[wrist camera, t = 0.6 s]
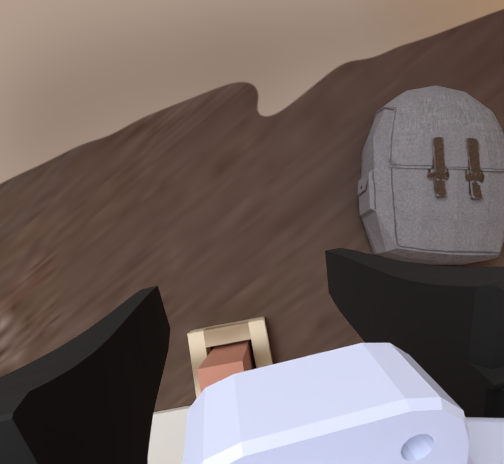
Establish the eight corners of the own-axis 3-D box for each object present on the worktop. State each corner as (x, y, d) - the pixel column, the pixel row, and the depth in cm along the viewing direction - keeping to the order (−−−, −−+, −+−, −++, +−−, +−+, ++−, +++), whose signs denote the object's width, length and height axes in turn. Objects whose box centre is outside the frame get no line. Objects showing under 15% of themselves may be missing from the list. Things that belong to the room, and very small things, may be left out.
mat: (211, 472, 30) (210, 477, 29) (153, 483, 30) (151, 487, 29) (201, 403, 31) (200, 406, 30) (145, 413, 31) (142, 416, 31)
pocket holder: (279, 394, 31) (279, 403, 29) (204, 408, 31) (199, 417, 29) (264, 316, 32) (263, 319, 30) (192, 329, 32) (187, 333, 30)
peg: (255, 376, 31) (251, 410, 23) (220, 382, 31) (204, 418, 23) (248, 339, 32) (242, 360, 24) (214, 346, 32) (197, 369, 24)
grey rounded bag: (482, 269, 32) (472, 109, 35) (557, 267, 24) (535, 58, 27) (348, 261, 33) (350, 106, 36) (375, 256, 25) (374, 56, 28)
